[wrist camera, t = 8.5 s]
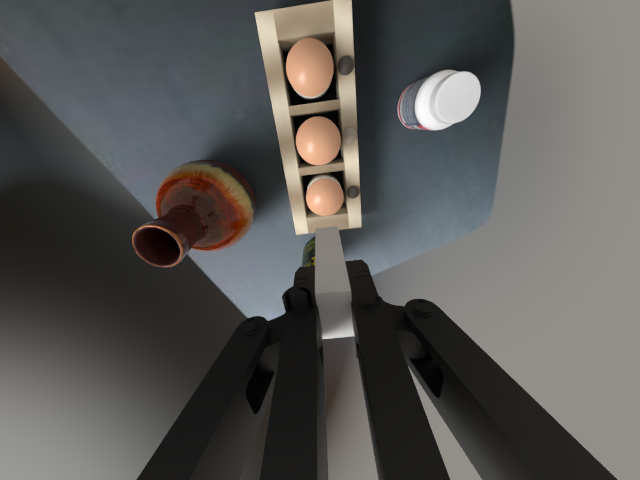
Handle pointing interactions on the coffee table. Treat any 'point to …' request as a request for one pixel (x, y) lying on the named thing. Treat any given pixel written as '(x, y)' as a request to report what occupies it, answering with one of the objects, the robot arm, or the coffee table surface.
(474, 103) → the pill bottle
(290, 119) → the wooden egg tray
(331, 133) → the button
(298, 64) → the button
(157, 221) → the vase
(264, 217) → the coffee table surface
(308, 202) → the button
